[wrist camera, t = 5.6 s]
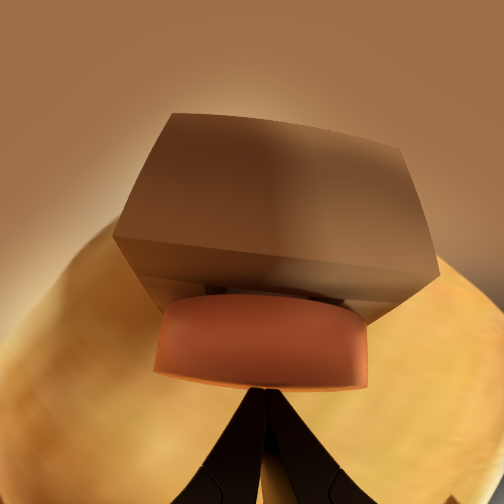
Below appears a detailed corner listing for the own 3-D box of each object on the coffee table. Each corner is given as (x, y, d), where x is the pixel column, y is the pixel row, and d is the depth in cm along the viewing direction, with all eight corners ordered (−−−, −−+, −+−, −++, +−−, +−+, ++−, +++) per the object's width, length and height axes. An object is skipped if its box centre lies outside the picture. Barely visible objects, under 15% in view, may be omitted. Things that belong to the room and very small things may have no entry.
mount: (320, 352, 15) (440, 275, 6) (181, 338, 15) (112, 235, 6) (320, 275, 17) (398, 148, 8) (195, 261, 17) (172, 113, 8)
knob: (325, 392, 11) (413, 379, 5) (175, 379, 11) (119, 357, 5) (324, 243, 16) (372, 151, 10) (203, 228, 15) (193, 124, 9)
